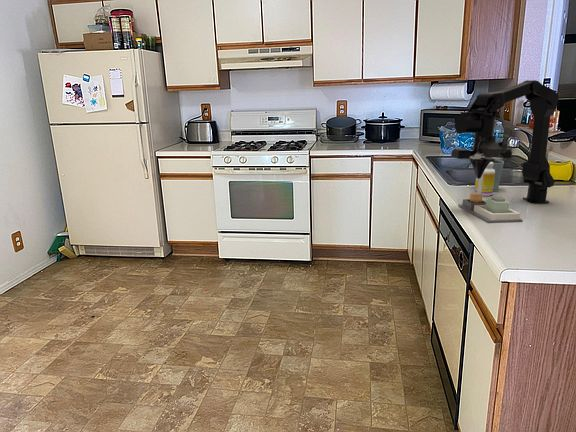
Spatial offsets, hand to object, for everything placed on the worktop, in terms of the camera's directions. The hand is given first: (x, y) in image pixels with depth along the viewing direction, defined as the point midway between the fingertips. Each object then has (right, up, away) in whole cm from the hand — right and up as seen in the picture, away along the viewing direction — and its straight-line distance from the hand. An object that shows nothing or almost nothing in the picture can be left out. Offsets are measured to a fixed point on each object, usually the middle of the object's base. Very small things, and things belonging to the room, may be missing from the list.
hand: (478, 178), depth 152 cm
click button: (0, -8, +3) cm, 9 cm away
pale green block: (+3, -13, -6) cm, 14 cm away
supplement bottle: (+12, -5, +24) cm, 27 cm away
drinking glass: (+17, -2, +32) cm, 36 cm away
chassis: (+2, -12, -2) cm, 13 cm away
